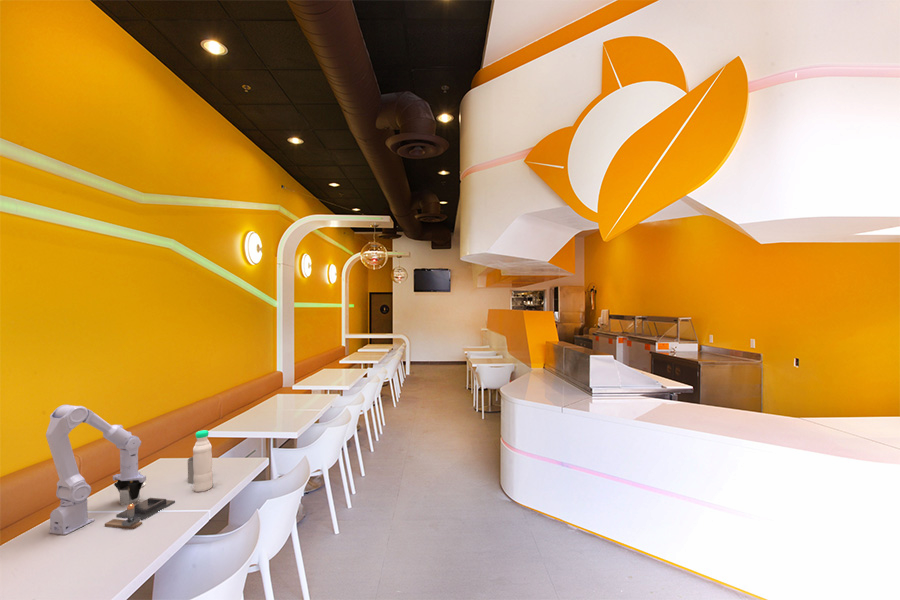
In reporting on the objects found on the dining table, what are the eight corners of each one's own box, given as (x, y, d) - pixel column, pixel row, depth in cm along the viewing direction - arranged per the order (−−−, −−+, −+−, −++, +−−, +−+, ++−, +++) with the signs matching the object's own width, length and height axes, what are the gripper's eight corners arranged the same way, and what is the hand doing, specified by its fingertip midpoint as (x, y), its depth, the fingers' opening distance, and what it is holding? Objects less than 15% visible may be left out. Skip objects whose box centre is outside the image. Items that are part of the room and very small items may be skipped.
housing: (128, 505, 159) (128, 488, 159) (119, 504, 160) (119, 487, 160) (139, 500, 164) (139, 483, 164) (130, 499, 164) (130, 482, 165)
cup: (190, 478, 184) (189, 456, 184) (210, 474, 188) (210, 453, 188) (186, 485, 177) (186, 462, 177) (208, 481, 180) (207, 459, 180)
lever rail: (133, 529, 141) (133, 526, 141) (104, 526, 144) (104, 523, 144) (142, 524, 144) (142, 521, 144) (113, 521, 147) (113, 518, 147)
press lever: (130, 526, 141) (129, 506, 141) (122, 525, 142) (121, 506, 142) (140, 520, 145) (139, 501, 145) (132, 520, 145) (131, 501, 146)
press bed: (144, 519, 148) (144, 513, 148) (116, 517, 150) (116, 510, 150) (175, 502, 160) (174, 496, 160) (148, 500, 163) (148, 494, 163)
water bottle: (216, 485, 175) (215, 428, 176) (205, 492, 168) (203, 433, 169) (201, 485, 176) (200, 428, 177) (189, 492, 169) (188, 433, 170)
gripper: (152, 462, 165) (153, 494, 164) (124, 460, 167) (125, 492, 167) (136, 468, 158) (136, 503, 157) (107, 467, 161) (107, 500, 160)
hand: (129, 498), depth 162 cm, fingers closed on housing, 4 cm apart
